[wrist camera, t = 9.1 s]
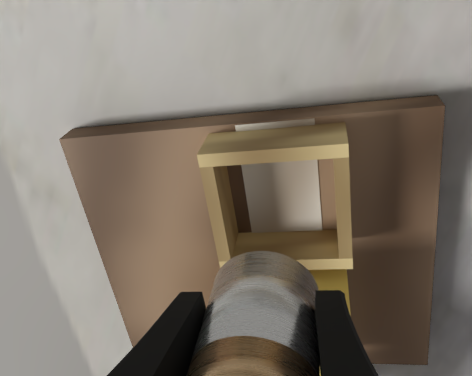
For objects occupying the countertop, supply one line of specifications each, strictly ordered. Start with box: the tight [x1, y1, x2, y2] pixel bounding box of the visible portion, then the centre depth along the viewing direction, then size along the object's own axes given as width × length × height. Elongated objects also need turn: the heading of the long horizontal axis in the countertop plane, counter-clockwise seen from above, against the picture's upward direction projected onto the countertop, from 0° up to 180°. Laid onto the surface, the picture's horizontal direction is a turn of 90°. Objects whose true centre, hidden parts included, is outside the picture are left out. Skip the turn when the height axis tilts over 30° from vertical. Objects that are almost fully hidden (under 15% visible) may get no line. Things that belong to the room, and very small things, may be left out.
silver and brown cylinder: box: [187, 251, 320, 376], centre depth 11 cm, size 3×3×5 cm
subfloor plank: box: [59, 95, 445, 365], centre depth 20 cm, size 15×13×3 cm
